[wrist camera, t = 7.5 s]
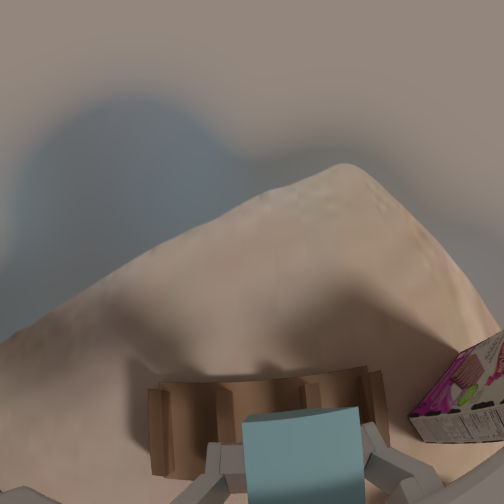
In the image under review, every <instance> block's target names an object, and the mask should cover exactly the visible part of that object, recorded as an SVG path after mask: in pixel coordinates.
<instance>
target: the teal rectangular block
mask: <svg viewBox="0 0 504 504" xmlns="http://www.w3.org/2000/svg"><path fill="white" fill-rule="evenodd" d="M242 433H243V446H244V458H245V470H246V481H247V492H248V503H249V504H365V482H364V463H363V449H362V438H361V427H360V418H359V409H358V407H344V408H316V409H301V410H293V411H285V412H275V413H264V414H250V415H249V416H248V417H247V418H246V419H245V420H244V421H243V422H242Z"/></svg>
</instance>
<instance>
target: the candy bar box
mask: <svg viewBox="0 0 504 504" xmlns="http://www.w3.org/2000/svg"><path fill="white" fill-rule="evenodd" d="M407 418H408V419H409V421H410V422H411V424H412V425H413V426H414V427H415V428H416V430H417V431H418V433H419V435H420V436H421V438H422V439H423V440H424V442H425V443H442V444H466V443H487V442H499V441H504V330H502V331H500V332H499V333H497V334H495V335H493V336H492V337H490V338H488V339H486V340H484V341H482V342H480V343H478V344H477V345H475V346H473V347H471V348H468V349H466V350H464V351H462V352H460V353H459V355H458V356H457V357H456V359H455V360H454V362H453V363H452V364H451V366H450V367H449V368H448V370H447V371H446V372H445V374H444V375H443V376H442V378H441V379H440V380H439V381H438V382H437V384H436V385H435V386H434V387H433V389H432V390H431V391H430V392H429V393H428V394H427V396H426V397H425V398H424V399H423V400H422V401H421V402H420V403H419V404H418V406H417V407H416V408H415V409H414V410H413V411H412V412H411V413H410V414H409V415H408V416H407Z"/></svg>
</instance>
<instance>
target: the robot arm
mask: <svg viewBox="0 0 504 504" xmlns="http://www.w3.org/2000/svg"><path fill="white" fill-rule="evenodd" d="M360 427H361V438H362V449H363V463H364V478H365V479H367V480H368V481H370V482H371V483H372V484H374V485H375V486H377V487H378V488H380V489H381V490H382V491H384V492H385V493H387V494H388V495H390V497H389V498H388V499H387V501H386V502H385V503H384V504H504V447H502V448H501V449H500V450H499V451H497V452H496V453H495V454H493V455H492V456H491V457H489V458H488V459H487V460H485V461H484V462H482V463H481V464H480V465H478V466H477V467H475V468H474V469H472V470H471V471H469V472H468V473H466V474H465V475H463V476H461V477H460V478H458V479H456V480H455V481H453V482H451V483H450V484H448V485H446V486H444V485H443V483H442V482H441V480H440V478H439V477H438V475H437V473H436V472H435V470H434V468H433V467H432V466H430V465H428V464H426V463H424V462H421V461H419V460H417V459H415V458H413V457H410V456H408V455H406V454H404V453H402V452H400V451H398V450H396V449H394V448H392V447H389V448H387V446H386V444H385V442H384V440H383V438H382V436H381V434H380V433H379V431H378V429H377V427H376V425H375V423H374V422H368V423H365V424H361V425H360ZM237 493H248V492H247V481H246V470H245V458H244V446H243V442H209V443H208V446H207V456H206V466H205V474H200V475H199V476H198V477H197V478H196V479H195V480H194V481H193V482H192V483H191V484H190V485H189V486H188V487H187V488H186V489H185V490H184V491H183V492H182V493H181V494H180V495H179V496H178V497H176V498H175V499H174V500H173V501H172V502H171V503H170V504H223V503H224V502H225V501H226V499H227V498H228V497H229V496H230V494H237ZM0 504H62V503H59V502H57V501H55V500H53V499H51V498H49V497H47V496H45V495H43V494H41V493H39V492H37V491H36V490H34V489H32V488H30V487H27V486H22V487H17V488H14V489H11V490H9V491H6V492H3V493H1V492H0Z"/></svg>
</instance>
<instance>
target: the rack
mask: <svg viewBox="0 0 504 504" xmlns="http://www.w3.org/2000/svg"><path fill="white" fill-rule="evenodd" d="M344 407H358V409H359V418H360V425H361V424H365V423H368V422H374V423H375V425H376V427H377V429H378V431H379V433H380V434H381V436H382V438H383V440H384V442H385V444H386V446H387V448H389V447H390V436H389V425H388V416H387V407H386V399H385V392H384V385H383V379H382V373H381V370H380V371H376V372H371V373H368V369H367V366H363V367H358V368H353V369H347V370H342V371H336V372H330V373H323V374H317V375H310V376H302V377H294V378H284V379H274V380H262V381H247V382H225V383H174V382H159V390H154V389H148V416H149V441H150V456H151V468H152V475H156V476H164V478H170V479H180V480H192V481H194V480H195V479H196V478H197V477H198V476H199V475H200V474H205V466H206V456H207V446H208V443H209V442H243V433H242V422H243V421H244V420H245V419H246V418H247V417H248V416H249V415H250V414H264V413H275V412H285V411H293V410H301V409H316V408H344Z"/></svg>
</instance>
